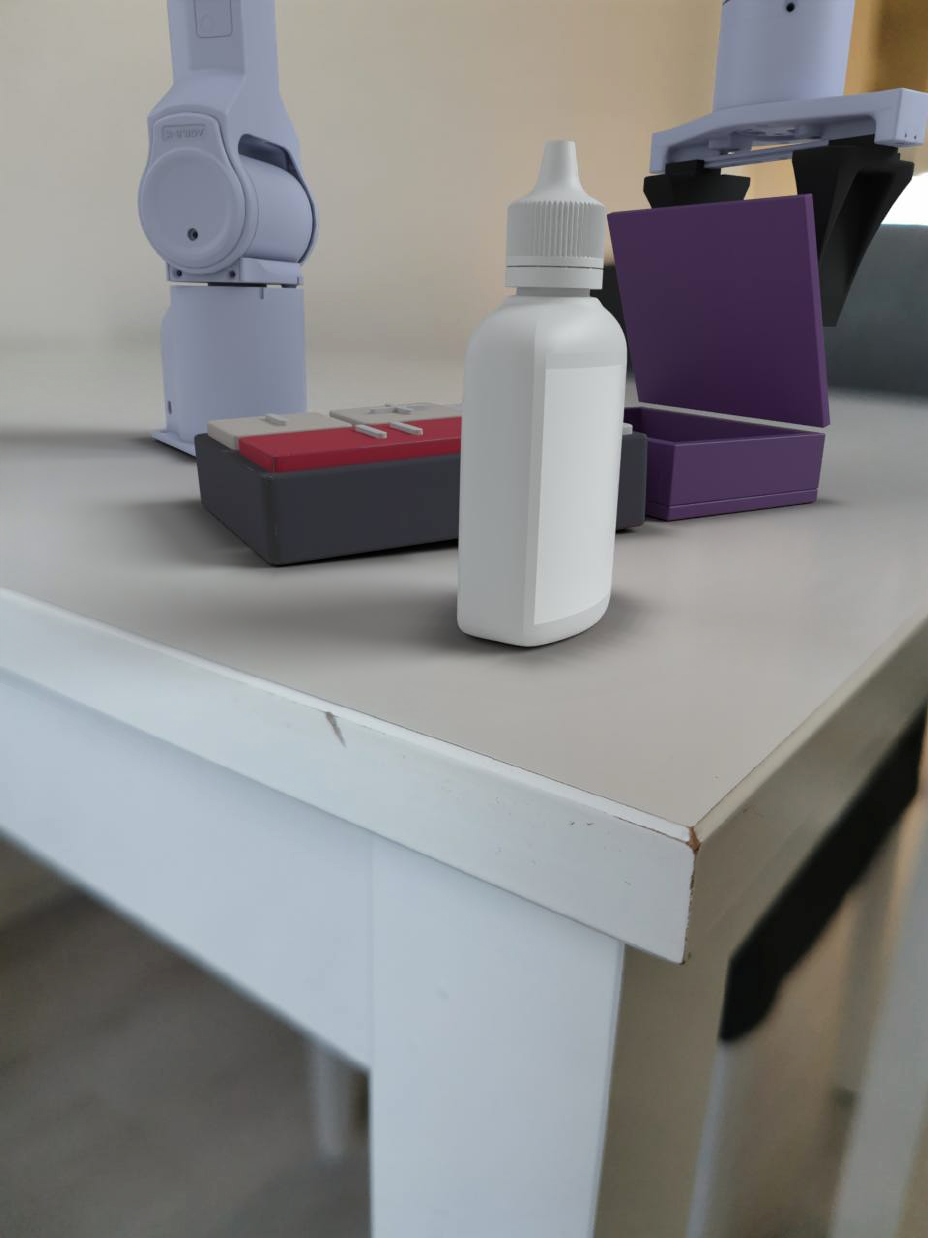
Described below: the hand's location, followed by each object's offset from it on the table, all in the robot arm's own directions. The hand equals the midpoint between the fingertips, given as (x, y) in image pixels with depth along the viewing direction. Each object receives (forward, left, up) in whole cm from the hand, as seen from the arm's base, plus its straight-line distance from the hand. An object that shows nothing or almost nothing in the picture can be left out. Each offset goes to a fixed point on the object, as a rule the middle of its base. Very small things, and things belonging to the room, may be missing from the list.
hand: (752, 323), depth 48 cm
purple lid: (0, -3, 0) cm, 3 cm away
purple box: (0, -6, -8) cm, 10 cm away
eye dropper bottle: (+14, -23, -8) cm, 28 cm away
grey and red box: (+1, -19, -8) cm, 21 cm away
